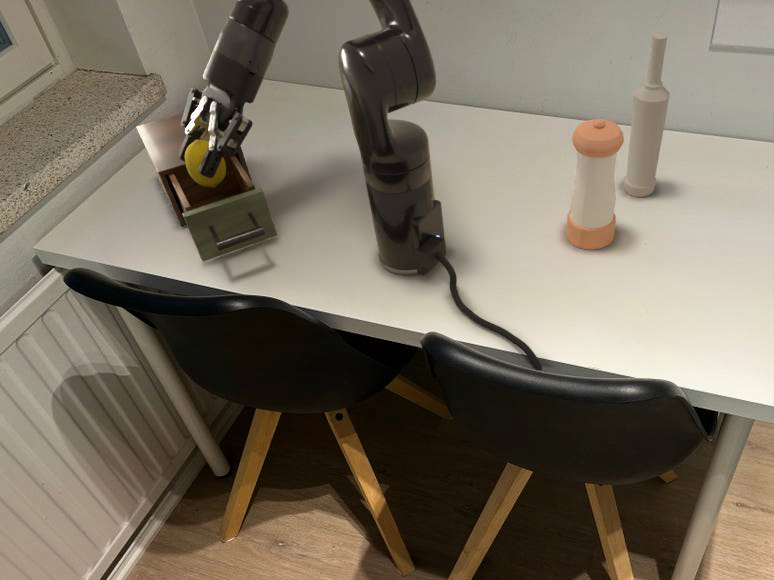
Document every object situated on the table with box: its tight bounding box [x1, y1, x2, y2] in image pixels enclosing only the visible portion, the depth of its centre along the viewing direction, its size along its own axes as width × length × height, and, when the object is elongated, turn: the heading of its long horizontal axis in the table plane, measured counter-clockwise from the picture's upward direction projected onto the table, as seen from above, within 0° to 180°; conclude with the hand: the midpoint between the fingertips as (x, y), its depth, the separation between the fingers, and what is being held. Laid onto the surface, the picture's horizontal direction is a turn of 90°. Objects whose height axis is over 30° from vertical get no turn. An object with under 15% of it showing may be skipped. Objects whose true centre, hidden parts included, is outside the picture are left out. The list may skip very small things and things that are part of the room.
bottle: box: [623, 32, 671, 198], centre depth 109 cm, size 5×5×25 cm
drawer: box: [168, 155, 278, 263], centre depth 111 cm, size 21×12×8 cm, turn 30°
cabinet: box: [136, 112, 253, 227], centre depth 120 cm, size 17×13×10 cm
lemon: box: [185, 140, 226, 188], centre depth 108 cm, size 6×6×8 cm
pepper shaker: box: [566, 118, 625, 251], centre depth 104 cm, size 7×7×19 cm
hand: (195, 167), depth 107 cm, fingers closed on lemon, 5 cm apart
